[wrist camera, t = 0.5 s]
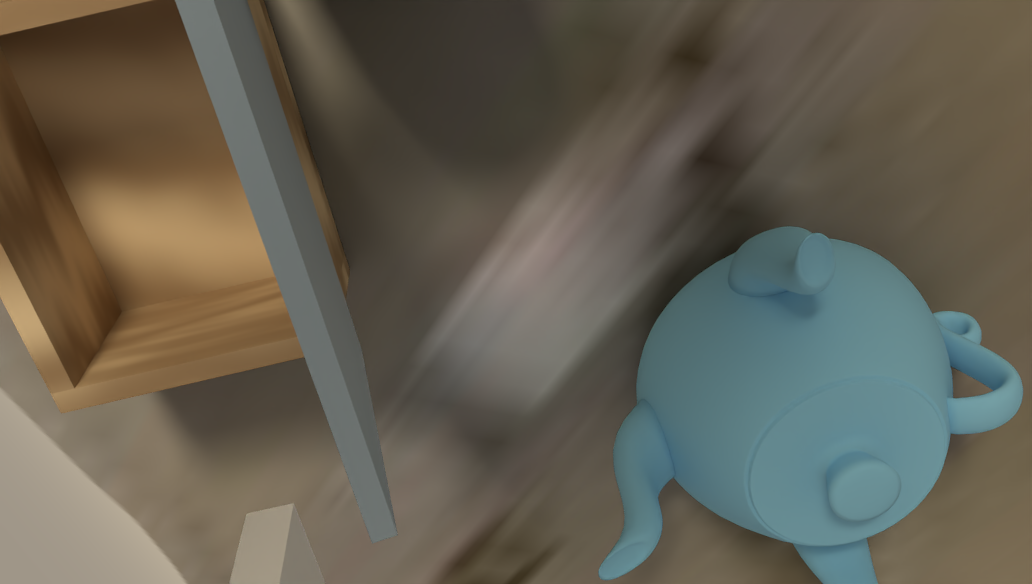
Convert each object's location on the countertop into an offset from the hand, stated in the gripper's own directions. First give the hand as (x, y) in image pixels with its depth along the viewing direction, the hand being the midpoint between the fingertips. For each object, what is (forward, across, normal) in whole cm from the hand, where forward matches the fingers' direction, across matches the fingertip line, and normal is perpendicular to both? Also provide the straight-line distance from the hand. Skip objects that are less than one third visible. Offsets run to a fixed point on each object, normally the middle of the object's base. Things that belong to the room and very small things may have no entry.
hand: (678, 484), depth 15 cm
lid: (+16, -9, 0) cm, 18 cm away
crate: (+30, -16, 0) cm, 34 cm away
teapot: (+31, +10, -18) cm, 37 cm away
